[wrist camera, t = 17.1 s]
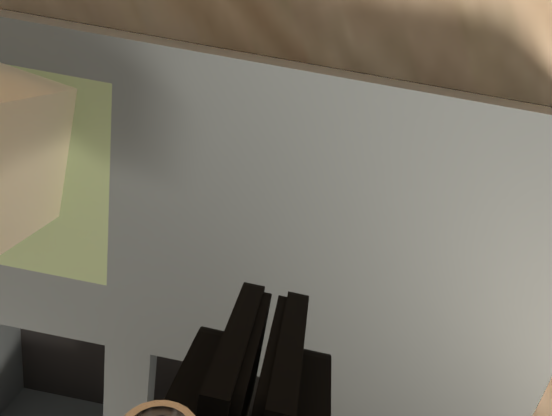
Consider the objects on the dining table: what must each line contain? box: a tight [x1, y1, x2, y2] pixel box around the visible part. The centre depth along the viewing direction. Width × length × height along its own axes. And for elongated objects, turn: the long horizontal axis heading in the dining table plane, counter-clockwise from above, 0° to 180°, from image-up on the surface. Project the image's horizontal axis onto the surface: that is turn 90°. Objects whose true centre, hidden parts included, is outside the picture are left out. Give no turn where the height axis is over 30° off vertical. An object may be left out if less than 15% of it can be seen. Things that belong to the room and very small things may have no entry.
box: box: [0, 9, 552, 416], centre depth 21 cm, size 26×22×5 cm
